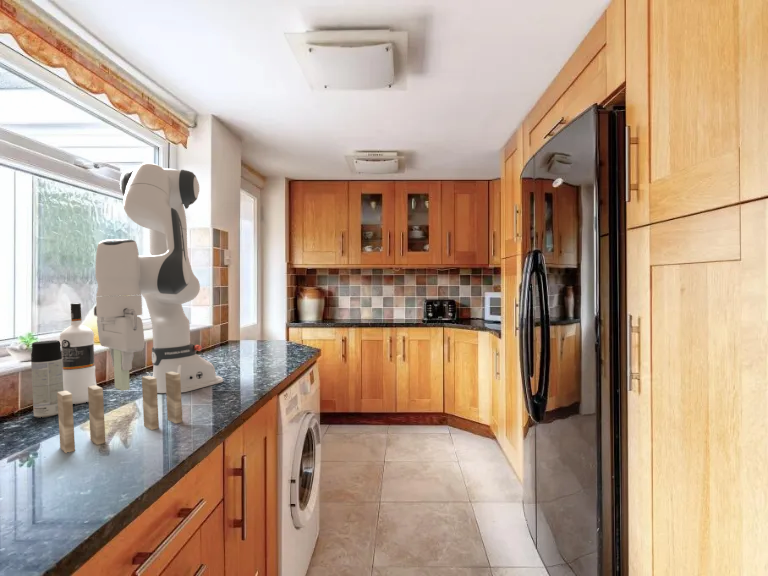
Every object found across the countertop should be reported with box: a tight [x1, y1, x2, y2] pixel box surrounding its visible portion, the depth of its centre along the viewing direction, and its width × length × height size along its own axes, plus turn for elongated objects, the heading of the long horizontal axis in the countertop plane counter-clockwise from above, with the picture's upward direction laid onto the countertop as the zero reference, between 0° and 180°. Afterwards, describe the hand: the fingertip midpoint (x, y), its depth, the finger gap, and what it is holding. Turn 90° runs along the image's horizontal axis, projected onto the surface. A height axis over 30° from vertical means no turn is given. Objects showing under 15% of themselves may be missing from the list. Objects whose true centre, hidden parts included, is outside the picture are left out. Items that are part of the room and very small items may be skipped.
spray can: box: [30, 339, 64, 418], centre depth 115 cm, size 7×7×20 cm
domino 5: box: [165, 372, 183, 424], centre depth 105 cm, size 2×5×12 cm, turn 48°
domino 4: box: [141, 375, 160, 431], centre depth 101 cm, size 2×5×12 cm, turn 48°
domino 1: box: [57, 391, 76, 454], centre depth 89 cm, size 2×5×12 cm, turn 48°
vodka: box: [59, 302, 97, 405], centre depth 128 cm, size 9×9×30 cm
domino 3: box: [113, 349, 131, 392], centre depth 97 cm, size 2×5×12 cm, turn 48°
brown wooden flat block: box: [88, 384, 106, 446], centre depth 93 cm, size 2×5×12 cm, turn 48°
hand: (121, 368), depth 97 cm, fingers closed on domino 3, 5 cm apart
